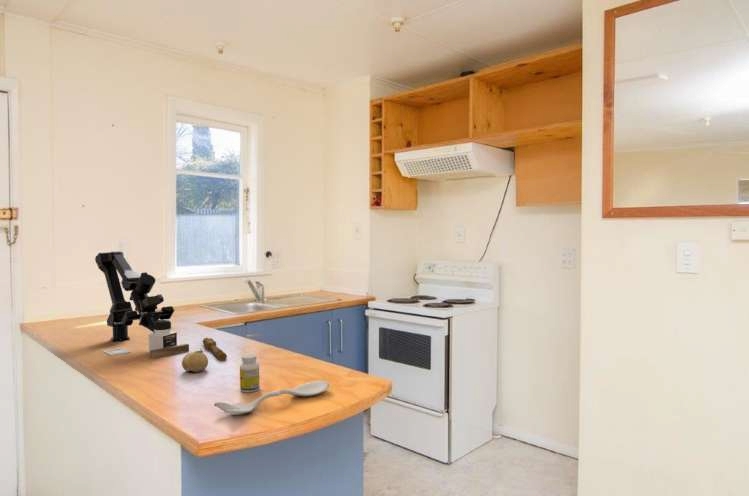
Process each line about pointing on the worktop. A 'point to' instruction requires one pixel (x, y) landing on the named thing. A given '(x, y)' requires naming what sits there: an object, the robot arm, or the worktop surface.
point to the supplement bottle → (249, 374)
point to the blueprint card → (116, 351)
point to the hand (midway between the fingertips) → (156, 332)
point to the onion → (195, 361)
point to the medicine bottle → (162, 335)
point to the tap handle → (214, 348)
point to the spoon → (301, 390)
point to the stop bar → (169, 350)
